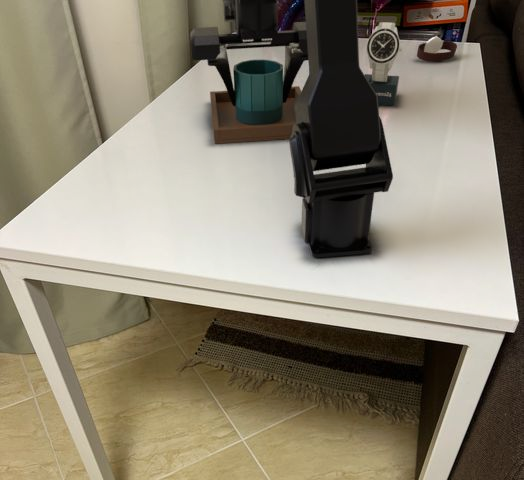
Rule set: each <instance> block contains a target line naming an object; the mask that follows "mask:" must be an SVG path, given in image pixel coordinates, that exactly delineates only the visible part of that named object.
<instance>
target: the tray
mask: <svg viewBox="0 0 524 480" xmlns="http://www.w3.org/2000/svg"><path fill="white" fill-rule="evenodd" d="M301 92H302V89H301V87H300V86H299V85H296V86H292V87H291V90H290V93H289V95H288V98H287V101H286V103H283V115H282V118H281V119H280V120H279V121H277V122H274V123H271V124H266V125H251V124H246V123H243V122H240V121H239V120H238V119H237V118H236V107H235V106H233V105H232V102H231V99H230V97H229V94H228V92H227V90H216V91H215V90H214V91H213V90H212V91H209V98H210V108H211V109H210V110H211V118H212V119H211V120H212V129H213V140H214V144H216V145H217V144H218V145H219V144H232V143H246V142H247V143H248V142H259V141H261V142H262V141H276V140H277V141H278V140H290V139H291V135H292V129H293V126H294V124H296V119H295V110H294V102H295V99H296V97H297V95H298V94H301Z"/></svg>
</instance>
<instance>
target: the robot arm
mask: <svg viewBox="0 0 524 480" xmlns="http://www.w3.org/2000/svg"><path fill="white" fill-rule="evenodd" d="M303 1H304V15H305V21H296V22H293V25H292V30H279V25H278V23H279V18H278V16H279V15H278V14H279V13H278V11H279V9H278V7H279V4H278V3H279V1H278V0H222V7H223V8H222V9H223V20H224V22H225V23H232V22H234V29H235V31H236V33H224V34H223V33H222V34H219V28H218V26H205V27H204V26H203V27H194V28H193V29H192V30H191V31H190V48H191V50H190V51H191V58H192V60H193V61H207V66H209V67H215V69H216V71H217V73H218V74H219V77H220V78H221V80H222V82H223V83H224V86H225V89H226V91H227V92H228V94H229V97H230V99H231V102H232V105H233V106H236V103H235V93H234V81H233V78H232V72H231V68H230V67H231V66H230V60H229V57H228V51H227V50H241V49H257V48H274V47H275V48H276V47H284V65H283V103H286V101H287V98H288V95H289V93H290V90H291V87H293V85H294V82H295V79H296V77H297V76H298V73H299V71H300V70H301V68H302V66H303V64H304V63H305V62H306V61H308V76H307V78H306V81H305V82H304V85H303V87H302V89H301V94H298V95H297V97H296V99H295V102H294V110H295V119H296V124H294V126H293V129H292V135H291V139H289V142H288V143H289V144H288V145H289V151H290V158H291V164H292V174H293V179H294V181H293V182H294V187H293V193H294V195H295V196H296V197H299V198H302V199H301V203H302V204H301V227H300V228H301V234H302V237H303V241H304V243H305V244H306V245H308V248H309V251H310V255H311V256H312V257H313V258H327V257H339V256H351V255H364V254H371V253H373V245H372V242H371V241H370V231H371V222H372V213H373V205H374V198H375V194H376V193H388V192H389V191H390V187H391V185H392V182H393V178H394V176H393V175H394V174H393V170H392V165H391V159H390V155H389V154H390V153H389V149H388V143H387V140H386V139H387V138H386V134H385V129H384V124H383V120H382V118H381V116H380V109H379V105H378V98H377V95H376V93H375V91H374V90H373V88H372V86H371V85H370V83H369V82H368V80H367V78H366V77H365V74H364V72H363V70H362V69H361V67H360V48H359V24H358V23H359V22H358V21H359V20H358V18H359V17H358V0H303ZM360 165H361V166H362V165H365V166H363V167H358V168H351V169H344V170H337V171H330V172H323V173H315V172H320V171H326V170H333V169H334V170H335V169H340V168H347V167H353V166H360ZM314 173H315V174H314Z"/></svg>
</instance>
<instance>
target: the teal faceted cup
mask: <svg viewBox="0 0 524 480" xmlns="http://www.w3.org/2000/svg"><path fill="white" fill-rule="evenodd" d="M232 70H233V71H232V72H233V88H234V93H235V103H236V106H235V107H236V118H237V119H238V120H239V121H240V122H243V123H246V124H251V125H266V124H271V123H274V122H277V121H279V120H280V119H281V118H282V115H283V76H284V65H283V64H282V63H280V62H278V61H277V60H270V59H248V60H243V61H240V62H238V63H236V64H234V65H233V69H232Z"/></svg>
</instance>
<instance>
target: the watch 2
mask: <svg viewBox="0 0 524 480" xmlns="http://www.w3.org/2000/svg"><path fill="white" fill-rule="evenodd" d="M417 47H418V48H417V50H416V51H417V52H416V57H417V58H418V59H419V60H421V61H425V62H432V63H443V62H444V61H449V60H451V59H453V58H454V57H455V54H456V51H457V48H458V44H457V43H456V42H454V41H451V40H442V39H441V38H440V37H438V35H435V36H433V37H431V38H430V39H428V40H427V41H426V42H423V43H420V44H419V45H418V46H417ZM441 50H445V51H444V52H439V51H441Z"/></svg>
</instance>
